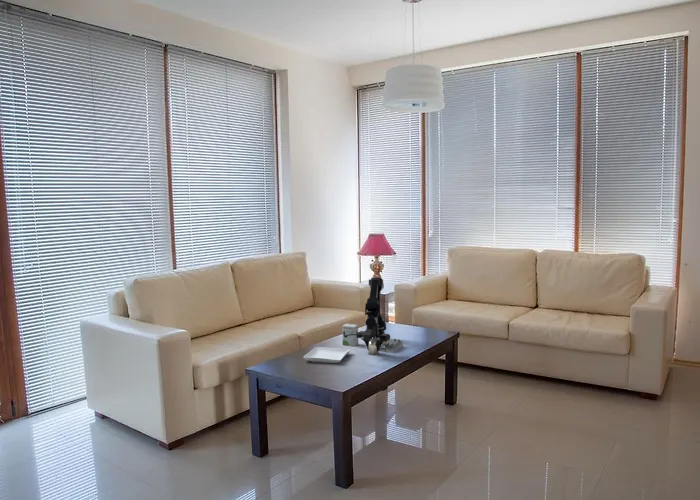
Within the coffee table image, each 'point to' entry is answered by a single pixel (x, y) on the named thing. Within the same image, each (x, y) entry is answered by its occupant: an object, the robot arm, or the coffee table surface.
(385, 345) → the gearbox
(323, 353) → the salad plate
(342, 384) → the coffee table surface
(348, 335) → the ink box
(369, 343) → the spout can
